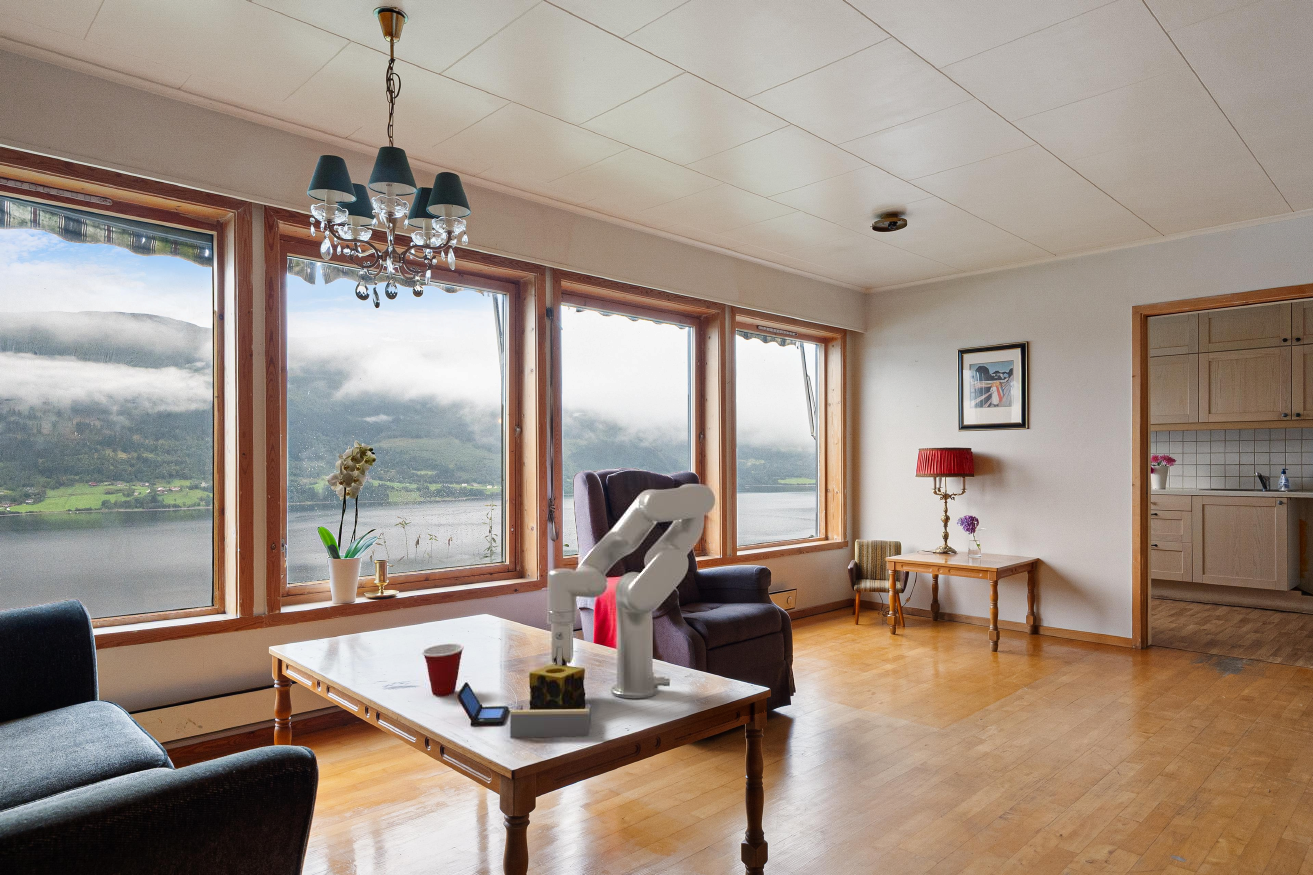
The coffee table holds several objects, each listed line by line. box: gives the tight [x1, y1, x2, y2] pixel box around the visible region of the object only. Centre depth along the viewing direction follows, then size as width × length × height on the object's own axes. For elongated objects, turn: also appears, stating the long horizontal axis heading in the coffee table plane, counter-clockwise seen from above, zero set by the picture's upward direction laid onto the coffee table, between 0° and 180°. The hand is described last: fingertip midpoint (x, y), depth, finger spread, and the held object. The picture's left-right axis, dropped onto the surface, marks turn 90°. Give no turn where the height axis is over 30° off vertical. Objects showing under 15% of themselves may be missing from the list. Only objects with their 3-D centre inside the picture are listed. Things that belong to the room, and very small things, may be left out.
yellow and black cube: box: [528, 663, 587, 710], centre depth 189 cm, size 10×10×10 cm
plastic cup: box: [421, 643, 465, 697], centre depth 204 cm, size 11×11×12 cm
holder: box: [509, 703, 592, 739], centre depth 175 cm, size 17×10×6 cm, turn 92°
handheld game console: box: [456, 681, 510, 727], centre depth 183 cm, size 12×11×7 cm
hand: (561, 688), depth 199 cm, fingers closed
